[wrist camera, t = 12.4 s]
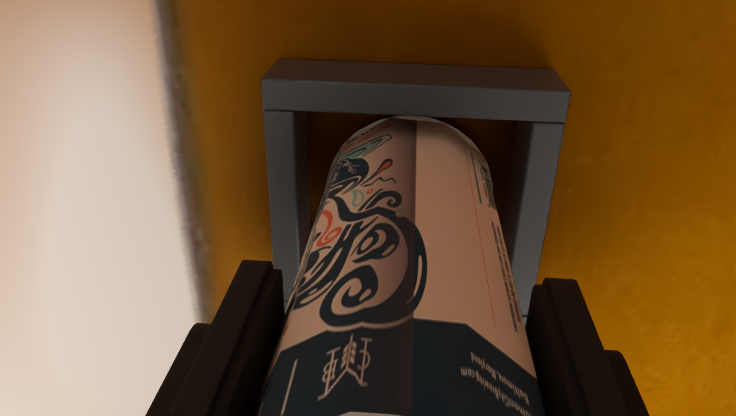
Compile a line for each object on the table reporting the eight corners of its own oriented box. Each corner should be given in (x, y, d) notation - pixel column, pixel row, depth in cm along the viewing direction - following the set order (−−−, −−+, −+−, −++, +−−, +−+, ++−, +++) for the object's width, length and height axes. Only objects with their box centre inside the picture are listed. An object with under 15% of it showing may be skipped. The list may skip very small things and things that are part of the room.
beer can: (364, 81, 16) (262, 433, 6) (521, 148, 17) (688, 580, 6) (306, 221, 19) (154, 661, 8) (446, 276, 19) (477, 755, 9)
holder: (277, 57, 16) (260, 78, 14) (555, 68, 16) (571, 90, 14) (289, 283, 20) (276, 322, 18) (517, 297, 19) (526, 338, 17)
